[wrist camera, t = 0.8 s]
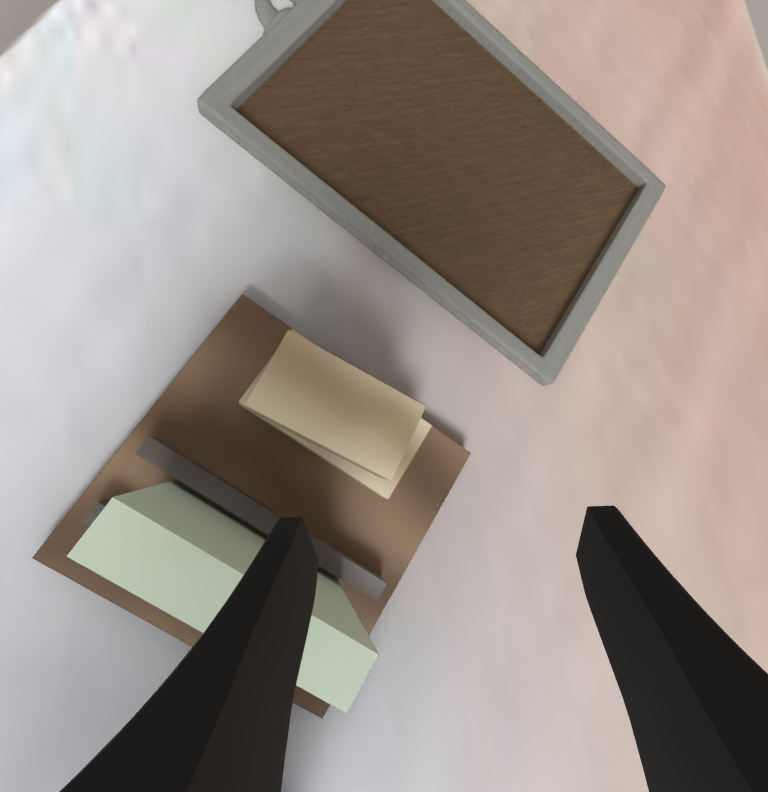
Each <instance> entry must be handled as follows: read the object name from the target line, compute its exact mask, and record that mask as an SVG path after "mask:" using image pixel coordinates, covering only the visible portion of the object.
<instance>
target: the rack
mask: <svg viewBox="0 0 768 792" xmlns="http://www.w3.org/2000/svg"><path fill="white" fill-rule="evenodd" d="M288 330H289V331H291V330H292V328H290V327H289V326H287V325H286V324H285V323H283V322H282V321H280V320H279V319H277V318H276V317H274V316H273V315H272V314H270V313H269V312H267V311H266V310H264V309H263V308H262V307H260V306H259V305H257V304H256V303H254V302H253V301H251V300H250V299H249V298H247V297H246V296H244V295H243V294H242V295H241V296H240V298H239V299H238V300H237V301H236V303H235V304H234V305H233V306H232V308H231V309H230V310H229V311H228V313H227V314H226V315H225V316H224V318H223V319H222V320H221V321H220V323H219V324H218V325H217V327H216V328H215V329H214V330H213V332H212V333H211V334H210V335H209V337H208V338H207V339H206V340H205V342H204V343H203V344H202V345H201V347H200V348H199V349H198V350H197V352H196V353H195V354H194V355H193V357H192V358H191V359H190V360H189V362H188V363H187V364H186V365H185V367H184V368H183V369H182V370H181V372H180V373H179V374H178V375H177V377H176V378H175V379H174V380H173V382H172V383H171V384H170V386H169V387H168V388H167V389H166V391H165V392H164V393H163V394H162V396H161V397H160V398H159V399H158V401H157V402H156V403H155V404H154V406H153V407H152V408H151V409H150V411H149V412H148V413H147V414H146V416H145V417H144V418H143V419H142V421H141V422H140V423H139V424H138V426H137V427H136V428H135V429H134V431H133V432H132V433H131V434H130V436H129V437H128V438H127V440H126V441H125V442H124V443H123V445H122V446H121V447H120V448H119V450H118V451H117V452H116V453H115V455H114V456H113V457H112V458H111V460H110V461H109V462H108V463H107V465H106V466H105V467H104V468H103V470H102V471H101V472H100V473H99V475H98V476H97V477H96V478H95V480H94V481H93V482H92V483H91V485H90V486H89V487H88V488H87V490H86V491H85V492H84V493H83V495H82V496H81V497H80V499H79V500H78V501H77V502H76V504H75V505H74V506H73V507H72V509H71V510H70V511H69V512H68V514H67V515H66V516H65V517H64V519H63V520H62V521H61V522H60V524H59V525H58V526H57V527H56V529H55V530H54V531H53V532H52V534H51V535H50V536H49V537H48V539H47V540H46V541H45V542H44V544H43V545H42V546H41V547H40V549H39V550H38V551H37V552H36V554H35V555H34V556H33V559H35V560H37V561H39V562H40V563H42V564H44V565H46V566H48V567H49V568H51V569H53V570H55V571H57V572H58V573H60V574H62V575H64V576H66V577H67V578H69V579H71V580H73V581H75V582H76V583H78V584H80V585H82V586H84V587H86V588H87V589H89V590H91V591H93V592H95V593H96V594H98V595H100V596H102V597H104V598H105V599H107V600H109V601H111V602H113V603H114V604H116V605H118V606H120V607H122V608H123V609H125V610H127V611H129V612H131V613H132V614H134V615H136V616H138V617H140V618H142V619H143V620H145V621H147V622H149V623H151V624H152V625H154V626H156V627H158V628H160V629H161V630H163V631H165V632H167V633H169V634H170V635H172V636H174V637H176V638H178V639H179V640H181V641H183V642H185V643H187V644H188V645H190V646H192V647H193V646H194V645H195V643H196V642H197V641H198V639H199V638H200V637H201V635H202V634H203V633H202V632H200V631H199V630H197V629H195V628H193V627H192V626H190V625H188V624H186V623H184V622H183V621H181V620H179V619H177V618H175V617H174V616H172V615H170V614H168V613H167V612H165V611H163V610H161V609H159V608H158V607H156V606H154V605H152V604H150V603H149V602H147V601H145V600H143V599H142V598H140V597H138V596H136V595H134V594H133V593H131V592H129V591H127V590H126V589H124V588H122V587H120V586H118V585H117V584H115V583H113V582H111V581H109V580H108V579H106V578H104V577H102V576H101V575H99V574H97V573H95V572H93V571H92V570H90V569H88V568H86V567H85V566H83V565H81V564H79V563H77V562H76V561H74V560H72V559H70V558H68V557H67V555H68V554H69V553H70V551H71V550H72V549H73V548H74V546H75V545H76V544H77V542H78V541H79V540H80V538H81V537H82V536H83V535H84V533H85V532H86V531H87V529H88V528H89V527H90V526H91V524H92V523H93V522H94V520H95V519H96V518H97V517H98V515H99V514H100V513H101V511H102V510H103V509H104V508H105V506H106V505H107V504H108V502H109V501H110V500H111V499H112V497H115V496H119V495H122V494H126V493H130V492H133V491H137V490H140V489H144V488H148V487H151V486H155V485H159V484H162V483H166V482H169V481H173V480H174V481H175V482H177V483H179V484H180V485H182V486H184V487H185V488H187V489H189V490H190V491H192V492H193V493H195V494H197V495H198V496H200V497H202V498H203V499H205V500H207V501H208V502H210V503H211V504H213V505H215V506H216V507H218V508H220V509H221V510H223V511H225V512H226V513H228V514H229V515H231V516H233V517H234V518H236V519H238V520H239V521H241V522H243V523H244V524H246V525H247V526H249V527H251V528H252V529H254V530H256V531H257V532H259V533H261V534H262V535H264V536H266V537H268V535H269V533H270V532H271V530H272V528H273V527H274V525H275V523H276V522H277V520H278V519H279V518H281V517H302V518H303V520H304V523H305V526H306V528H307V531H308V533H309V536H310V539H311V541H312V544H313V547H314V549H315V552H316V555H317V557H318V560H319V565H318V569H320V570H321V571H323V572H324V573H326V574H328V575H329V576H331V577H333V578H334V579H336V580H338V582H339V583H340V585H341V587H342V589H343V591H344V592H345V594H346V596H347V598H348V600H349V601H350V603H351V605H352V607H353V609H354V610H355V612H356V614H357V616H358V618H359V619H360V621H361V623H362V625H363V627H364V628H365V630H366V632H367V634H368V636H369V634H370V632H371V631H372V629H373V627H374V625H375V623H376V622H377V620H378V618H379V616H380V614H381V613H382V611H383V609H384V607H385V606H386V604H387V602H388V600H389V598H390V597H391V595H392V593H393V591H394V589H395V588H396V586H397V584H398V582H399V581H400V579H401V577H402V575H403V573H404V572H405V570H406V568H407V566H408V564H409V563H410V561H411V559H412V557H413V555H414V554H415V552H416V550H417V548H418V547H419V545H420V543H421V541H422V539H423V538H424V536H425V534H426V532H427V530H428V529H429V527H430V525H431V523H432V522H433V520H434V518H435V516H436V514H437V513H438V511H439V509H440V507H441V505H442V504H443V502H444V500H445V498H446V497H447V495H448V493H449V491H450V489H451V488H452V486H453V484H454V482H455V480H456V479H457V477H458V475H459V473H460V472H461V470H462V468H463V466H464V464H465V463H466V461H467V459H468V457H469V455H470V454H471V453H470V452H469V451H467V450H466V449H464V448H463V447H461V446H460V445H459V444H457V443H456V442H454V441H453V440H451V439H450V438H448V437H447V436H446V435H444V434H443V433H441V432H440V431H438V430H437V429H436V428H434V427H433V426H432V427H431V428H430V430H429V432H428V433H427V435H426V437H425V439H424V440H423V442H422V444H421V445H420V447H419V449H418V450H417V452H416V454H415V455H414V457H413V459H412V460H411V462H410V464H409V465H408V467H407V469H406V470H405V472H404V474H403V475H402V477H401V479H400V480H399V482H398V484H397V485H396V487H395V489H394V490H393V492H392V494H391V496H390V497H389V499H385V498H383V497H380V496H378V495H376V494H375V493H373V492H372V491H370V490H369V489H367V488H366V487H364V486H363V485H361V484H360V483H358V482H357V481H355V480H353V479H352V478H350V477H349V476H347V475H346V474H344V473H343V472H341V471H340V470H338V469H337V468H335V467H334V466H332V465H330V464H329V463H327V462H326V461H324V460H323V459H321V458H320V457H318V456H317V455H315V454H314V453H312V452H311V451H309V450H308V449H306V448H304V447H303V446H301V445H300V444H298V443H297V442H295V441H294V440H292V439H291V438H289V437H288V436H286V435H285V434H283V433H282V432H280V431H278V430H277V429H275V428H274V427H272V426H271V425H269V424H268V423H266V422H265V421H263V420H262V419H260V418H259V417H257V416H256V415H254V414H252V413H251V412H249V411H248V410H246V409H245V408H243V407H242V406H241V405H240V403H239V400H240V399H241V398H242V396H243V395H244V394H245V392H246V391H247V389H248V388H249V387H250V385H251V384H252V383H253V381H254V380H255V379H256V377H257V376H258V375H259V373H260V372H261V371H262V369H263V368H264V367H265V365H266V364H267V362H268V361H269V360H270V358H271V357H272V356H273V354H274V353H275V352H276V350H277V348H278V347H279V345H280V343H281V341H282V340H283V338H284V336H285V335H286V333H287V331H288ZM293 703H295V704H297V705H299V706H300V707H302V708H304V709H306V710H308V711H309V712H311V713H313V714H315V715H317V716H318V717H320V718H323V716H324V715H325V713H326V711H327V709H328V707H329V706H330V704H329V703H327V702H325V701H323V700H322V699H320V698H318V697H316V696H315V695H313V694H311V693H309V692H307V691H306V690H304V689H302V688H300V687H298V686H297V685H296V687H295V692H294V697H293Z"/></svg>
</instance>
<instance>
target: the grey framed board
mask: <svg viewBox="0 0 768 792" xmlns="http://www.w3.org/2000/svg"><path fill="white" fill-rule="evenodd" d="M290 1H291V2H293V3H294V7H293V8H292V9H291V8H284V9H282V10H281V11H279V12H278V11H277V10H276V9H275V8H274V7H273V6H272V5H271V4H270V2H269V0H255V8H256V13H257V15H258V18H259V20H260V22H261V23H262V25H263V27H264V28H265V31H264V34H263V37H262V38H260V39H259V40H258V41H257V42H256V43H255V44H254V45H253V46H252V47H251V48H250V49H249V50H248V51H247V52H246V53H245V54H244V55H243V56H242V57H241V58H239V59H238V60H237V61H236V62H235V63H234V64H233V65H232V66H231V67H230V68H229V69H228V70H227V71H226V72H225V73H224V74H223V75H222V76H221V77H219V78H218V79H217V80H216V81H215V82H214V83H213V84H212V85H211V86H210V87H209V88H208V89H207V90H206V91H205V92H204V93H203V94H202V95H201V96H200V97H199V98H198V101H197V102H198V109H199V113H200V114H201V115H203V116H204V117H205V118H206V119H207V120H209V121H210V122H211V123H212V124H214V125H215V126H216V127H217V128H219V129H220V130H221V131H222V132H224V133H225V134H226V135H227V136H229V137H230V138H231V139H232V140H234V141H235V142H236V143H237V144H239V145H240V146H241V147H242V148H244V149H245V150H246V151H248V152H249V153H250V154H251V155H253V156H254V157H255V158H256V159H258V160H259V161H260V162H261V163H263V164H264V165H265V166H266V167H268V168H269V169H270V170H271V171H273V172H274V173H275V174H276V175H278V176H279V177H280V178H281V179H283V180H284V181H285V182H286V183H288V184H289V185H290V186H292V187H293V188H294V189H295V190H297V191H298V192H299V193H300V194H302V195H303V196H304V197H305V198H307V199H308V200H309V201H310V202H312V203H313V204H314V205H315V206H317V207H318V208H319V209H320V210H322V211H323V212H324V213H325V214H327V215H328V216H329V217H331V218H332V219H333V220H334V221H336V222H337V223H338V224H339V225H341V226H342V227H343V228H344V229H346V230H347V231H348V232H349V233H351V234H352V235H353V236H354V237H356V238H357V239H358V240H359V241H361V242H362V243H363V244H364V245H366V246H367V247H368V248H369V249H371V250H372V251H373V252H375V253H376V254H377V255H378V256H380V257H381V258H382V259H383V260H385V261H386V262H387V263H388V264H390V265H391V266H392V267H393V268H395V269H396V270H397V271H398V272H400V273H401V274H402V275H403V276H405V277H406V278H407V279H408V280H410V281H411V282H412V283H414V284H415V285H416V286H417V287H419V288H420V289H421V290H422V291H424V292H425V293H426V294H427V295H429V296H430V297H431V298H432V299H434V300H435V301H436V302H437V303H439V304H440V305H441V306H442V307H444V308H445V309H446V310H447V311H449V312H450V313H451V314H453V315H454V316H455V317H456V318H458V319H459V320H460V321H461V322H463V323H464V324H465V325H466V326H468V327H469V328H470V329H471V330H473V331H474V332H475V333H476V334H478V335H479V336H480V337H481V338H483V339H484V340H485V341H486V342H488V343H489V344H490V345H491V346H493V347H494V348H495V349H497V350H498V351H499V352H500V353H502V354H503V355H504V356H505V357H507V358H508V359H509V360H510V361H512V362H513V363H514V364H515V365H517V366H518V367H519V368H520V369H522V370H523V371H524V372H525V373H527V374H528V375H529V376H530V377H532V378H533V379H534V380H536V381H537V382H538V383H540V384H541V385H542V386H545V385H549V384H552V383H553V382H554V381H555V379H556V378H557V376H558V374H559V372H560V371H561V369H562V367H563V365H564V364H565V362H566V360H567V359H568V357H569V355H570V353H571V352H572V350H573V348H574V346H575V345H576V343H577V341H578V339H579V338H580V336H581V334H582V332H583V331H584V329H585V327H586V325H587V324H588V322H589V320H590V318H591V317H592V315H593V313H594V312H595V310H596V308H597V306H598V305H599V303H600V301H601V299H602V298H603V296H604V294H605V292H606V291H607V289H608V287H609V285H610V284H611V282H612V280H613V278H614V277H615V275H616V273H617V272H618V270H619V268H620V266H621V265H622V263H623V261H624V259H625V258H626V256H627V254H628V252H629V251H630V249H631V247H632V245H633V244H634V242H635V240H636V238H637V237H638V235H639V233H640V231H641V230H642V228H643V226H644V225H645V223H646V221H647V219H648V218H649V216H650V214H651V212H652V211H653V209H654V207H655V205H656V204H657V202H658V200H659V198H660V197H661V195H662V193H663V191H664V189H665V184H664V183H663V182H662V181H661V180H660V179H658V178H657V177H656V176H655V175H654V174H653V173H652V172H651V171H650V170H649V169H648V168H647V167H646V166H644V165H643V164H642V163H641V162H640V161H639V160H638V159H637V158H636V157H635V156H634V155H632V154H631V153H630V152H629V151H628V150H627V149H626V148H625V147H624V146H623V145H622V144H621V143H619V142H618V141H617V140H616V139H615V138H614V137H613V136H612V135H611V134H610V133H609V132H608V131H606V130H605V129H604V128H603V127H602V126H601V125H600V124H599V123H598V122H597V121H596V120H595V119H593V118H592V117H591V116H590V115H589V114H588V113H587V112H586V111H585V110H584V109H583V108H581V107H580V106H579V105H578V104H577V103H576V102H575V101H574V100H573V99H572V98H571V97H570V96H568V95H567V94H566V93H565V92H564V91H563V90H562V89H561V88H560V87H559V86H558V85H557V84H555V83H554V82H553V81H552V80H551V79H550V78H549V77H548V76H547V75H546V74H545V73H543V72H542V71H541V70H540V69H539V68H538V67H537V66H536V65H535V64H534V63H533V62H532V61H530V60H529V59H528V58H527V57H526V56H525V55H524V54H523V53H522V52H521V51H520V50H519V49H517V48H516V47H515V46H514V45H513V44H512V43H511V42H510V41H509V40H508V39H507V38H506V37H504V36H503V35H502V34H501V33H500V32H499V31H498V30H497V29H496V28H495V27H494V26H492V25H491V24H490V23H489V22H488V21H487V20H486V19H485V18H484V17H483V16H482V15H481V14H479V13H478V12H477V11H476V10H475V9H474V8H473V7H472V6H471V5H470V4H469V3H468V2H466V1H465V0H290Z"/></svg>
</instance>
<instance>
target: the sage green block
mask: <svg viewBox="0 0 768 792" xmlns="http://www.w3.org/2000/svg"><path fill="white" fill-rule="evenodd" d="M266 538H267V537H266V536H264V535H262V534H261V533H259V532H257V531H256V530H254V529H252V528H251V527H249V526H247V525H246V524H244V523H243V522H241V521H239V520H238V519H236V518H234V517H233V516H231V515H229V514H228V513H226V512H225V511H223V510H221V509H220V508H218V507H216V506H215V505H213V504H211V503H210V502H208V501H207V500H205V499H203V498H202V497H200V496H198V495H197V494H195V493H193V492H192V491H190V490H189V489H187V488H185V487H184V486H182V485H180V484H179V483H177V482H175V481H174V480H173V481H169V482H166V483H162V484H159V485H155V486H151V487H148V488H144V489H140V490H137V491H133V492H130V493H126V494H122V495H119V496H115V497H112V499H111V500H110V501H109V502H108V504H107V505H106V506H105V508H104V509H103V510H102V511H101V513H100V514H99V515H98V517H97V518H96V519H95V520H94V522H93V523H92V524H91V526H90V527H89V528H88V529H87V531H86V532H85V533H84V535H83V536H82V537H81V538H80V540H79V541H78V542H77V544H76V545H75V546H74V548H73V549H72V550H71V551H70V553H69V554H68V555H67V557H68V558H70V559H72V560H74V561H76V562H77V563H79V564H81V565H83V566H85V567H86V568H88V569H90V570H92V571H93V572H95V573H97V574H99V575H101V576H102V577H104V578H106V579H108V580H109V581H111V582H113V583H115V584H117V585H118V586H120V587H122V588H124V589H126V590H127V591H129V592H131V593H133V594H134V595H136V596H138V597H140V598H142V599H143V600H145V601H147V602H149V603H150V604H152V605H154V606H156V607H158V608H159V609H161V610H163V611H165V612H167V613H168V614H170V615H172V616H174V617H175V618H177V619H179V620H181V621H183V622H184V623H186V624H188V625H190V626H192V627H193V628H195V629H197V630H199V631H200V632H202V633H204V631H205V630H206V629H207V627H208V626H209V624H210V623H211V622H212V620H213V619H214V618H215V616H216V615H217V613H218V612H219V611H220V609H221V608H222V606H223V605H224V604H225V602H226V601H227V599H228V598H229V596H230V595H231V593H232V592H233V590H234V589H235V587H236V586H237V584H238V583H239V581H240V580H241V578H242V577H243V575H244V574H245V572H246V571H247V569H248V568H249V566H250V564H251V563H252V561H253V560H254V558H255V556H256V555H257V553H258V552H259V550H260V548H261V547H262V545H263V543H264V542H265V540H266ZM378 656H379V654H378V652H377V650H376V648H375V647H374V645H373V643H372V641H371V639H370V638H369V636H368V634H367V632H366V630H365V628H364V627H363V625H362V623H361V621H360V619H359V618H358V616H357V614H356V612H355V610H354V609H353V607H352V605H351V603H350V601H349V600H348V598H347V596H346V594H345V592H344V591H343V589H342V587H341V585H340V583H339V582H338V580H336V579H334V578H333V577H331V576H329V575H328V574H326V573H324V572H323V571H321V570H320V569H318V575H317V585H316V593H315V601H314V606H313V611H312V615H311V620H310V624H309V629H308V634H307V638H306V643H305V647H304V651H303V656H302V660H301V665H300V669H299V674H298V678H297V683H296V685H297V686H298V687H300V688H302V689H304V690H306V691H307V692H309V693H311V694H313V695H315V696H316V697H318V698H320V699H322V700H323V701H325V702H327V703H329V704H331V705H332V706H334V707H336V708H338V709H339V710H341V711H343V712H345V713H347V712H348V710H349V709H350V707H351V705H352V703H353V701H354V699H355V698H356V696H357V694H358V692H359V690H360V689H361V687H362V685H363V683H364V681H365V679H366V678H367V676H368V674H369V672H370V670H371V668H372V667H373V665H374V663H375V661H376V659H377V657H378Z"/></svg>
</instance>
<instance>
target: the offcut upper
mask: <svg viewBox="0 0 768 792" xmlns="http://www.w3.org/2000/svg"><path fill="white" fill-rule="evenodd" d="M245 407H246V409H247V410H249V411H251V412H253V413H255V414H257V415H259V416H261V417H263V418H265V419H267V420H269V421H271V422H273V423H275V424H277V425H278V426H280V427H282V428H284V429H286V430H288V431H290V432H292V433H294V434H296V435H298V436H300V437H302V438H304V439H306V440H308V441H310V442H311V443H313V444H315V445H317V446H319V447H321V448H323V449H325V450H327V451H329V452H331V453H333V454H335V455H337V456H339V457H341V458H343V459H344V460H346V461H348V462H350V463H352V464H354V465H356V466H358V467H360V468H362V469H364V470H366V471H368V472H370V473H372V474H374V475H376V476H377V477H379V478H382V479H387V480H392V478H393V476H394V474H395V472H396V470H397V467H398V465H399V463H400V461H401V459H402V457H403V455H404V453H405V451H406V448H407V446H408V444H409V442H410V440H411V438H412V436H413V434H414V431H415V429H416V427H417V425H418V423H419V421H420V419H421V417H422V414H423V412H424V410H425V408H426V406H424V405H422V404H420V403H419V402H417V401H415V400H413V399H411V398H410V397H408V396H406V395H404V394H402V393H401V392H399V391H397V390H395V389H394V388H392V387H390V386H388V385H386V384H385V383H383V382H381V381H379V380H377V379H376V378H374V377H372V376H370V375H368V374H367V373H365V372H363V371H361V370H359V369H358V368H356V367H354V366H352V365H350V364H349V363H347V362H345V361H343V360H341V359H340V358H338V357H336V356H334V355H333V354H331V353H329V352H327V351H325V350H324V349H322V348H320V347H318V346H316V345H315V344H313V343H311V342H309V341H307V340H306V339H304V338H302V337H300V336H298V335H297V334H295V333H293V332H291V331H289V330H288V331H287V333H286V335H285V336H284V338H283V340H282V341H281V343H280V345H279V347H278V348H277V350H276V352H275V353H274V355H273V357H272V359H271V360H270V362H269V364H268V365H267V367H266V369H265V371H264V372H263V374H262V376H261V378H260V379H259V381H258V383H257V384H256V386H255V388H254V390H253V391H252V393H251V395H250V396H249V398H248V400H247V402H246V403H245Z"/></svg>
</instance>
